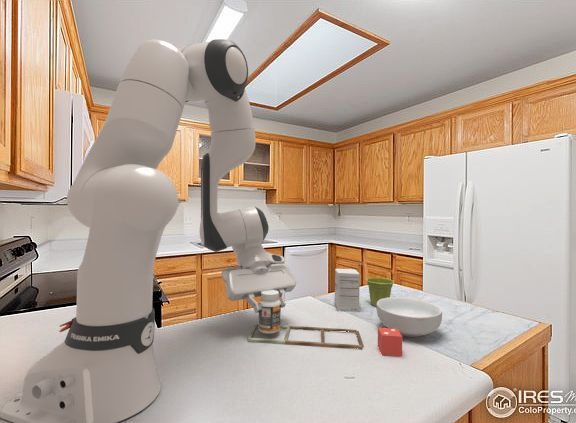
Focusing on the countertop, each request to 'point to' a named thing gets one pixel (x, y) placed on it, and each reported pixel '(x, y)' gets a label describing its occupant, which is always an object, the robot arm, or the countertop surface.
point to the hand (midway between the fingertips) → (271, 308)
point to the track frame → (304, 341)
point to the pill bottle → (270, 312)
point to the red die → (390, 341)
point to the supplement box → (347, 289)
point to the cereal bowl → (409, 315)
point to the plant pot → (379, 289)
